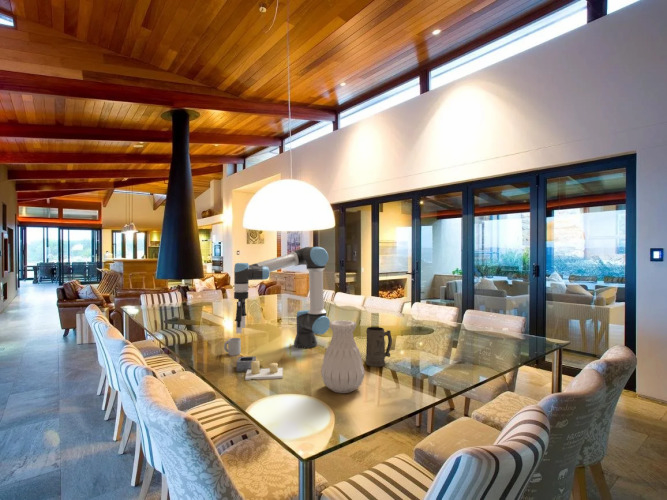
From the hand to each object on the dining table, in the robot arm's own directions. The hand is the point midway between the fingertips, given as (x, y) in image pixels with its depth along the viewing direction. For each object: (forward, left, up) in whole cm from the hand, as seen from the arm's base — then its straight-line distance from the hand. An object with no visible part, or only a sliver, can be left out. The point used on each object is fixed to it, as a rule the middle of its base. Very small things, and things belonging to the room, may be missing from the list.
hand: (240, 330), depth 195 cm
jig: (-14, +16, -19) cm, 29 cm away
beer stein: (-76, +6, -19) cm, 78 cm away
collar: (-4, +5, -19) cm, 20 cm away
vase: (-50, +39, -19) cm, 66 cm away
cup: (+7, -23, -19) cm, 31 cm away
